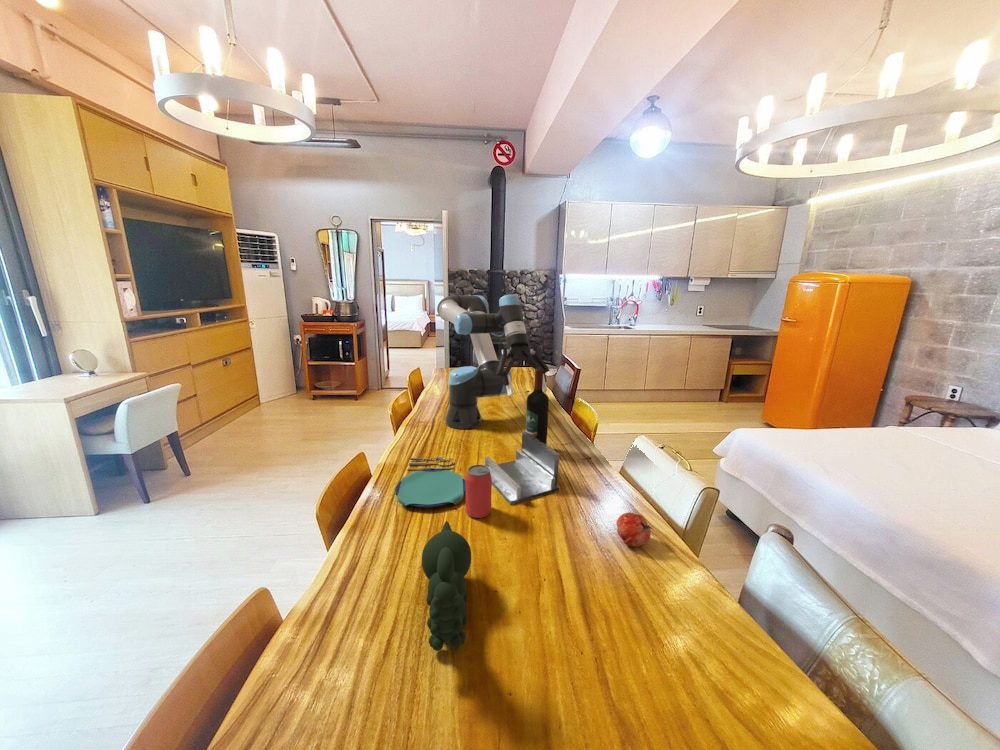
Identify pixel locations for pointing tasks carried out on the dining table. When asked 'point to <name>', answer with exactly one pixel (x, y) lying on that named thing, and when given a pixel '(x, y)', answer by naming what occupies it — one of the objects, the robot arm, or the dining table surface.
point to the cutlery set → (430, 486)
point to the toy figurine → (446, 586)
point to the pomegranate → (633, 529)
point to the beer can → (478, 491)
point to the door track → (526, 471)
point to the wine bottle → (537, 409)
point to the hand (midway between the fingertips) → (528, 393)
